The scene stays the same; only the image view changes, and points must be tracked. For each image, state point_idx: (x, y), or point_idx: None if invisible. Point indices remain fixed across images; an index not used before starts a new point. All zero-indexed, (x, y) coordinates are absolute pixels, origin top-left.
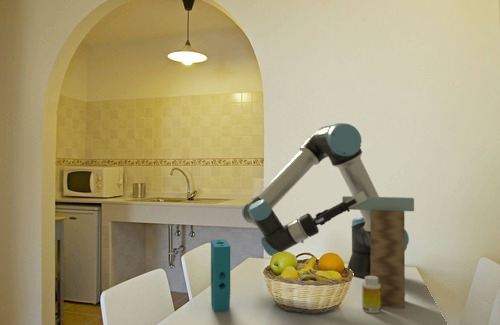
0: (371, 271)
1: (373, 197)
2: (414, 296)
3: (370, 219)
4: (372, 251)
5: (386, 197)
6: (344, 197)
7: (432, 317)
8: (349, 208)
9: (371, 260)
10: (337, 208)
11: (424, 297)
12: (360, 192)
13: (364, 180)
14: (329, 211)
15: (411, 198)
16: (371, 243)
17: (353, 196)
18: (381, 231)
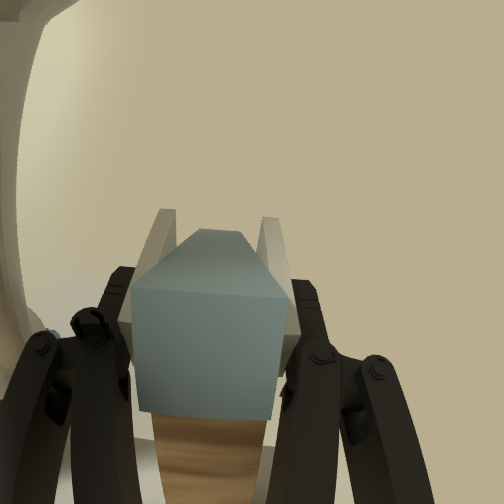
0: (251, 501)
1: (228, 245)
2: (149, 458)
3: (9, 352)
4: (258, 461)
5: (209, 237)
6: (282, 295)
7: (270, 452)
8: (281, 373)
9: (255, 482)
10: (401, 419)
11: (153, 445)
12: (171, 221)
13: (17, 149)
14: (429, 492)
15: (234, 231)
16: (262, 443)
17: (159, 262)
18: None
